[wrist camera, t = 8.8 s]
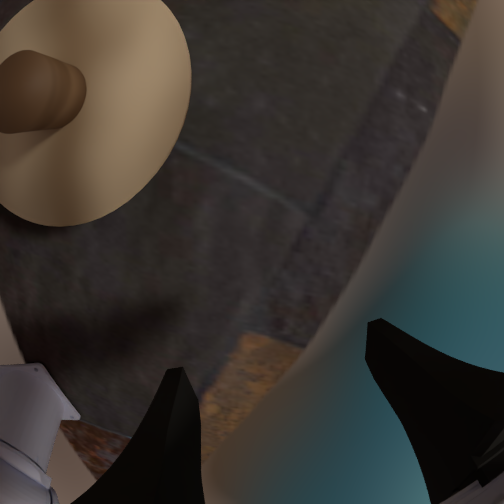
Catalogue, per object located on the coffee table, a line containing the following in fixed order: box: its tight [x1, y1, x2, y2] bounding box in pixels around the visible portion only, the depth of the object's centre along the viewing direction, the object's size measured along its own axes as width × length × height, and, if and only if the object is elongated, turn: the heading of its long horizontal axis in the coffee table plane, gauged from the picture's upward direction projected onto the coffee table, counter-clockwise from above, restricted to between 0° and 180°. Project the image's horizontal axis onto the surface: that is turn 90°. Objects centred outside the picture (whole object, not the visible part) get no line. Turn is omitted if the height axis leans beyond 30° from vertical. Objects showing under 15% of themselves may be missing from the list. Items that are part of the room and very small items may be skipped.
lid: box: [0, 0, 192, 227], centre depth 9 cm, size 12×12×4 cm
